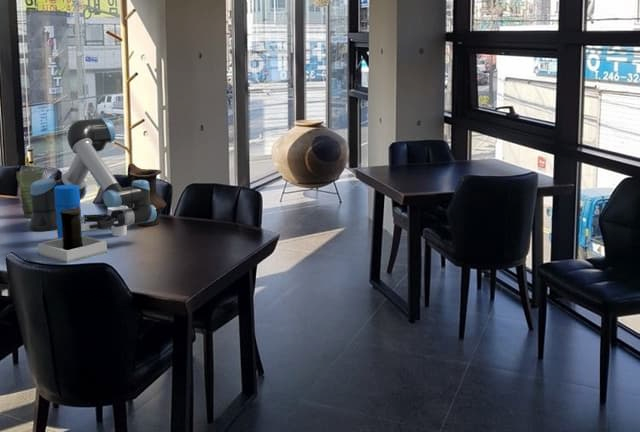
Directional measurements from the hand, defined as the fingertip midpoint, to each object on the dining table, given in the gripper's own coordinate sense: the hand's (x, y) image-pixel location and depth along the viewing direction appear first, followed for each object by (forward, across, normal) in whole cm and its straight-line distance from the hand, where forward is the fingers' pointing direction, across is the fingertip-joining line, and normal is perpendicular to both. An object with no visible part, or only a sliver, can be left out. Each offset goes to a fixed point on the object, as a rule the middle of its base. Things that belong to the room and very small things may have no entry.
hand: (75, 224), depth 318 cm
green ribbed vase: (-8, +82, -13) cm, 83 cm away
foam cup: (-27, +19, -13) cm, 36 cm away
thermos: (-5, +23, -13) cm, 27 cm away
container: (+2, 0, -12) cm, 12 cm away
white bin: (+2, 0, -13) cm, 13 cm away
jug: (-47, +30, -13) cm, 57 cm away
